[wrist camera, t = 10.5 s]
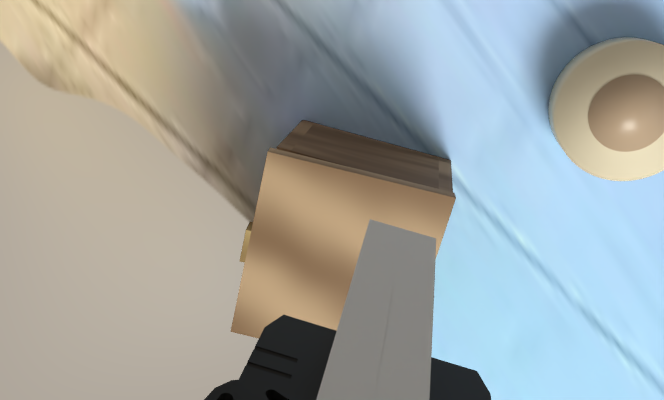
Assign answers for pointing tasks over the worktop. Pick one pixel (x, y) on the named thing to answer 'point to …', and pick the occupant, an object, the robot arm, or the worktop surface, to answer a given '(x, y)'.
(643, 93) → the domed cap
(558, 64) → the worktop surface
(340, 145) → the chest
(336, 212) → the lid
